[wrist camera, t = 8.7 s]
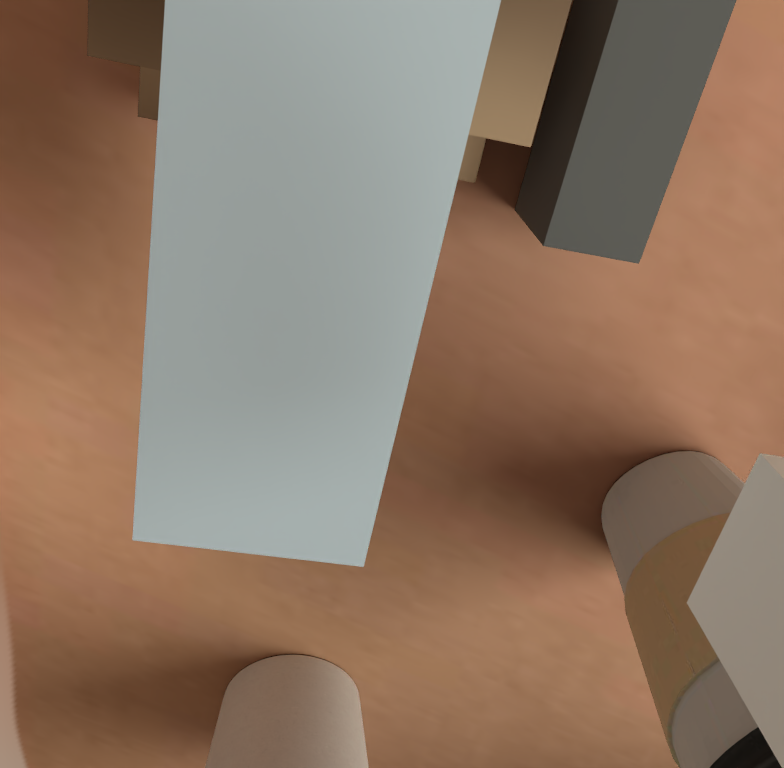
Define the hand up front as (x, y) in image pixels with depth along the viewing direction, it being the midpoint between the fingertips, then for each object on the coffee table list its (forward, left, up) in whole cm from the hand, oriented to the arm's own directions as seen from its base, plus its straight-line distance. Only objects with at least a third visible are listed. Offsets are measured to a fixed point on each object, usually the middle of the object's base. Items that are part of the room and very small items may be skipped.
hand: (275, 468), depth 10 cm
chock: (+5, -8, -17) cm, 19 cm away
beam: (+6, 0, -10) cm, 11 cm away
